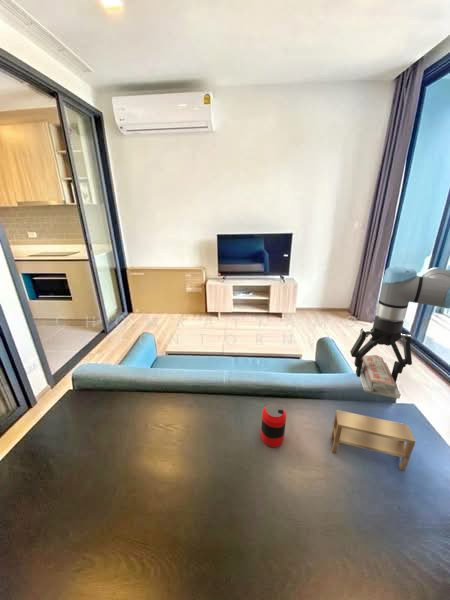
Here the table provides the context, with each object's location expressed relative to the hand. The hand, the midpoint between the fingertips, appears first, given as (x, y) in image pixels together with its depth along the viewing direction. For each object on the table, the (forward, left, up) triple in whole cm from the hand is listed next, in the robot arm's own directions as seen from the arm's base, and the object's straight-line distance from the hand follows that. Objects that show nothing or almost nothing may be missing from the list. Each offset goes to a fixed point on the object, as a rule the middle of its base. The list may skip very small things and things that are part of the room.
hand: (375, 377), depth 84 cm
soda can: (+31, +17, -20) cm, 41 cm away
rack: (+2, +14, -19) cm, 24 cm away
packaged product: (0, 0, 0) cm, 1 cm away
